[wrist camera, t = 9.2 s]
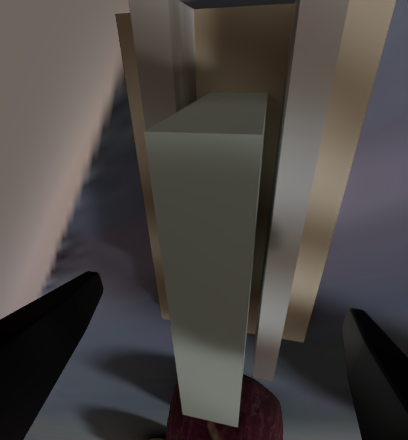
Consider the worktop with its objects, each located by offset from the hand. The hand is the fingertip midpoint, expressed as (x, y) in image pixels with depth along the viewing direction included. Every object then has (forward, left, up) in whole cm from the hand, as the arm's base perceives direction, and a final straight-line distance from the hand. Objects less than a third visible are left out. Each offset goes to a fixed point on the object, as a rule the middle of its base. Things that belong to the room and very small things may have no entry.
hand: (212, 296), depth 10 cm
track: (0, 0, -6) cm, 7 cm away
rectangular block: (0, 0, -6) cm, 6 cm away
